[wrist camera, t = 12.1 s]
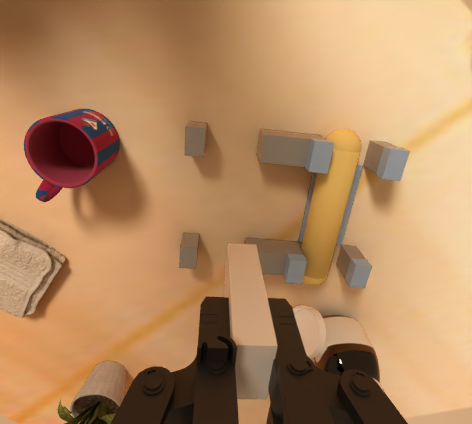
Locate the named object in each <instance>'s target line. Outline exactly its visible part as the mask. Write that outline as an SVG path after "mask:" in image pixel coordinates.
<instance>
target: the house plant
mask: <svg viewBox="0 0 472 424" xmlns="http://www.w3.org/2000/svg"><path fill="white" fill-rule="evenodd" d="M126 375H127V371H126V369H125V368H124V366H122V365H121V364H119V363H117V362H114V361H103V362H101V363H99V364H97V365H96V366H95V368H94V369H93V371H92V372H91V374H90V375H89V377H88V378H87V380H86V381H85V383H84V384H83V386H82V388H81V389H80V391H79V392H78V394H77V395H76V397H75V398H74V400H73V401H72V403H71V406H70V409H71V412H70V411H69V410H68V409H67V408H66V407H64V408H63V407H62V405H61V402H60V403H59V407H58V414H59V416H60V418H61V419H63V420H65V421H67V422H68V423H65V424H78V423H79V422H80V423H79V424H110V423H111V421H112V420H113V418H114V416H115V414H116V412H117V410H118V408H119V407H120V405H121V403H122V401H123V399H124V393H125V384H126ZM60 401H61V399H60ZM70 413H72V415H73V417H74V418H73V417H72V416H71V415H70Z"/></svg>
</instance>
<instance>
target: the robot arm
mask: <svg viewBox="0 0 472 424" xmlns="http://www.w3.org/2000/svg"><path fill="white" fill-rule="evenodd" d="M268 392H269V395H270V401H271V403H270V408H269V413H268V417H267V424H408V423H407V422H406V421H405V419H404V418H403V417H402V415H401V414H400V413H399V411H398V410H397V409H396V407H395V406H394V405H393V403H392V402H391V401H390V399H389V398H388V397H387V395H386V394H385V393H384V391H383V390H382V389H381V387H380V386H379V385H378V383H377V382H376V381H375V380H374V379H373V378H372V377H371V376H370V375H368V374H367V373H365V372H363V371H360V370H357V369H348V370H346V371H344V372H343V373H342V375H341V376H339V375H336V374H333V373H329V372H326V371H324V370H322V369H320V368H318V367H317V366H315V364H314V362H313V361H312V360H311V359H310V358H309V357H308V356H307V354H306V352H305V349H304V345H303V342H302V339H301V335H300V332H299V329H298V326H297V322H296V319H295V315H294V312H293V309H292V306H291V305H290V304H289V303H288V302H287V301H286V299H276V298H267V293H266V289H265V284H264V279H263V274H262V270H261V265H260V260H259V255H258V250H257V246H256V245H254V244H235V243H228V245H227V256H226V267H225V278H224V297H206V298H205V299H204V301H203V302H202V304H201V309H200V324H199V339H198V347H197V356H196V358H195V360H194V361H193V362H192V363H191V364H190V365H189V366H187V367H186V368H184V369H181V370H178V371H175V372H170V371H169V370H167V369H165V368H163V367H150V368H147V369H145V370H143V371H142V372H140V373H139V374H138V375H137V376H136V378H135V379H134V381H133V382H132V384H131V386H130V388H129V390H128V392H127V394H126V395H125V397H124V399H123V401H122V403H121V405H120V407H119V408H118V410H117V412H116V414H115V416H114V418H113V420H112V421H111V423H110V424H239V422H238V405H237V399H267V397H268Z"/></svg>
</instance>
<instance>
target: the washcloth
mask: <svg viewBox="0 0 472 424" xmlns="http://www.w3.org/2000/svg"><path fill="white" fill-rule="evenodd" d="M65 259H66V258H65V257H64V256H63V255H62V254H60V253H58V252H57V251H56V250H55V249H54V248H53V247H52V246H48V245H47V244H46V243H44V242H43V241H42V240H40V239H39V238H37V237H35V236H33V235H31V234H30V233H28V232H26V231H24V230H22V229H20V228H18V227H16V226H14V225H12V224H11V223H9V222H7V221H5V220H3V219H1V218H0V309H1V310H4V311H5V312H7V313H11V314H13V316H16V317H24V316H25V315H30V314H33V313H34V312H36V311H35V310H36V306H37V304H38V303H39V301H40V299H41V297H42V296H43V294H44V293H45V291H46V290H47V288H48V287H49V285H50V283H51V282H52V281H53V279H54V277H55V276H56V274H57V273H58V272H59V270H60V269H61V267H62V265H63V263H64V261H65Z"/></svg>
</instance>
